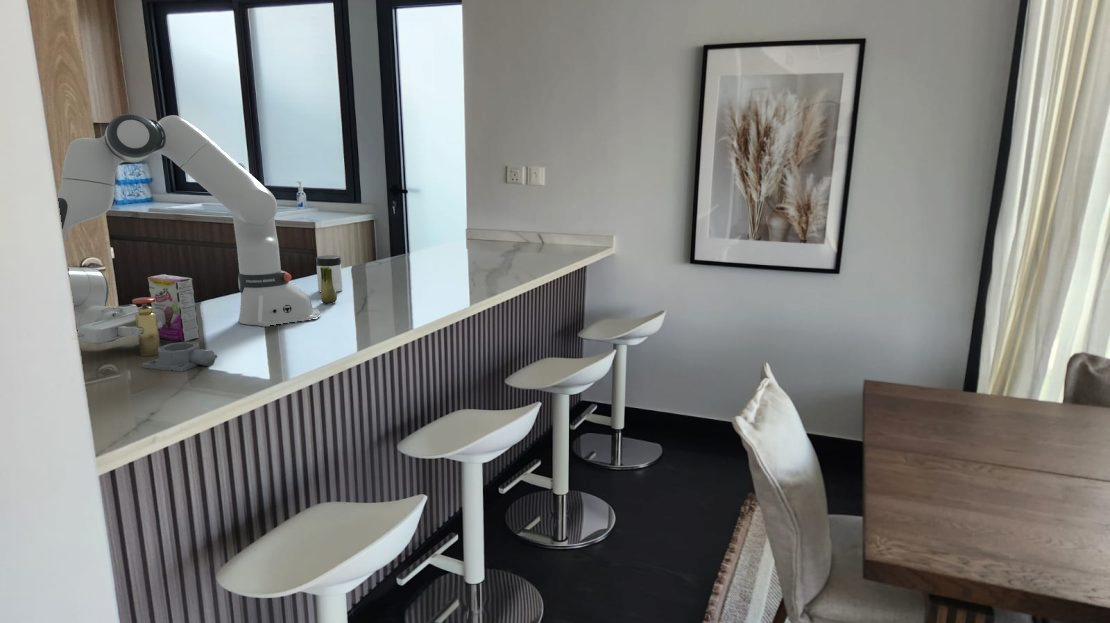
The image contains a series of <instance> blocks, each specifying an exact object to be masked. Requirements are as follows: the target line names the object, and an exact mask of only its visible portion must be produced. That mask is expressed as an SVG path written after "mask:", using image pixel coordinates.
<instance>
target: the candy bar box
mask: <svg viewBox="0 0 1110 623" xmlns="http://www.w3.org/2000/svg"><path fill="white" fill-rule="evenodd" d="M147 282H148V283H147V284H148V289H149V297H154V298H155V302H152V303H150V304H151V307H152V308H153V309H160V310H163V311H164V313H165V319H166V323H165V324H164V325H162V326H163V327H162V328H159V329H158V331H159V339H165V340H170V341H171V340H172V341H178V342H191V341H194V340H198V339H200V333H199V332H200V331H199V330H200V329H199V324H198V315H197V308H196V305H197V304H196V298H195V291H194V282H193V278H191V277H185V276H177V275H171V274H158V275H153V276H149V277H147ZM193 339H194V340H193ZM190 340H191V341H190Z"/></svg>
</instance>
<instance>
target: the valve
mask: <svg viewBox="0 0 1110 623" xmlns="http://www.w3.org/2000/svg"><path fill="white" fill-rule="evenodd" d="M152 302H155V298H154V297H150V296H148V297H144V296H143V297H136V298H133V299H132V300H131V303H132V305H141V306H139V308H138V311H139V313H137V314H135V318H136V325H137V326H139V327H142V328H143V334H140V335H137V338H138V344H139V353H140V356H143V357H153V356H157V355H159V354H158V347H161V346H162V345H161V340H160V339H161V338H159V331H158V323H157V316H156V312H152V305H148V304H151V303H152Z"/></svg>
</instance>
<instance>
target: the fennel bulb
mask: <svg viewBox="0 0 1110 623" xmlns="http://www.w3.org/2000/svg"><path fill="white" fill-rule="evenodd" d="M320 299H321V303H322V302H323V303H322V304H324V303H332V304H334V303H336V301H337V300H338V295H337V292H335V290H334V287H333V283H332V269H331V268H330V267H321V293H320ZM333 302H334V303H333Z"/></svg>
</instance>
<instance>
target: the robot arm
mask: <svg viewBox="0 0 1110 623" xmlns="http://www.w3.org/2000/svg"><path fill="white" fill-rule="evenodd" d="M153 154H160V155H163V156H165V157H166V158H167V159H170V160H171V161H172V162H173V163H174V164H175V165H176V166H178V167H179V168H180V169H181V170H182V171H183V172H184V173H185V174H187V176H189V177H191V179H193V181H195V182H196V183H197V184H199V185H200V186H201V187H202V188H203V189H204V190H206V191H207V193H209V194H210V195H211V196H213V197H214V198H215V199H216V200H217V201H218V202H219V203H221V204H222V205H223V206H224V207H225V208H226V209H227V210H229V211H230V212H231V213H232V220H233V228H234V229H233V230H234V234H235V235H234V236H235V243H236V251H237V260H238V269H239V272H238V274H237V275H238V277H237V280H238V290H239V292H240V308H239V310H240V311H239V316H238V321H237V322H238V323H240V324H242V325H249V326H258V327H271V326H270V325H274V326H277V325H276V324H281V325H284V324H283V323H288V324H290V323H289V322H295V323H298V322H297V321H302V322H304V321H303V320H309V319H313V318H316V317H318V316H319V315H320V316H321V312H320V310H319V309H318V308H316V307H313V305H312V302H311V298H310V296H309V295H308V294H307V293H306V292H305V291H303V290H302V289H300V288H298V287H296V286H295V285H293V284H292V283H291V282H290V281H291V280H292V275H291V274H290V273H288V272H287V271H284V270H282V269H281V268H282V267H281V259H280V258H281V256H280V247H279V244H280V243H279V240H278V235H277V228H276V221H275V216H277V212H278V203H277V199H276V197H275V196H274V194H273V192H272V191H270V190H269V188H266V187H265V186H264V185H263V184H262V183H261V182H260V181H259V180H257V179H256V178H255V177H254V175H252V174H251V173H249V172H248V171H247V170H246V169H245V168H244V167H242V165H240V164H239V163H238V162H237V161H236V160H235V159H234V158H232V156H230V155H229V154H228V153H227V152H226V151H224V149H222V148H221V147H220V146H219V145H218V144H217V143H216V142H215V141H213V139H211V138H210V137H209V136H208V135H207V134H205V133H204V132H203V131H202V130H200V128H198V127H196V126H195V125H193V124H192V123H191V122H189V121H188V120H186V119H185V118H183V117H181V116H179V115H176V114H175V115H174V114H173V115H172V114H171V115H167V116H164V117H162V118H161V119H159V120H155V119H151V118H147V117H145V116H142V115H138V114H131V113H124V114H119V115H117V116H115V117H114V118H113V119H111V121H110V122H109V123H108V125H107V127H106V129H105V133H104V135H102V136H101V137H96V138H95V137H94V138H93V137H87V136H86V137H79V138H75V139H73V140H72V141H71V142H69V144H68V146H67V149H66V153H65V157H64V161H63V164H62V172H61V181H60V186H59V189H58V192H57V194H58V201H59V208H60V215H61V222H62V229H63V236H64V243H65V242H66V239H67V235H68V234H69V232H70V231H71V229H72V228H73V227H75V226H76V225H79V224H81V223H83V222H87V221H91V220H95V219H97V218H100V217H101V216H103V215H105V214H106V213H107V212H109V211H110V209H112V205H113V202H114V199H115V186H116V175H117V169H118V168H119V166H120V165H121V166H123V165H135V164H139V163H141V162H143V161H145V160H147V159H148V158H149V157H151V156H152V155H153ZM67 267H68V268H69V275H70V282H71V290H72V296H73V303H74V311H75V316H76V323H77V330H78V337H79V339H78V340H80V341H82V342H83V343H89V344H97V345H100V344H104V343H112V342H115V341H117V340H118V339H121V338H124V337H128V336H138V335H140V334H143V328H142V327H139V326H137V325H136V318H135V314H137V313H139V311H138V308H139V307H140V306H139V307H138V306H137V304H133V303H132V304H122V305H116V306H113V305H107V303H108V299H109V291H110V290H109V284H108V282H109V281H108V280H107V278H106V277H105V275H104V274H103V272H101V271H100V270H99V269H97V268H94V267H93V268H91V267H81V266H80V267H76V266H75V267H72V266H67ZM152 312H156V316H157V323H158V329H159V328H162V327H163V326H162V325H164V324H165V323H166V319H165V313H164V311H163V310H160V309H153V308H152Z"/></svg>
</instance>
